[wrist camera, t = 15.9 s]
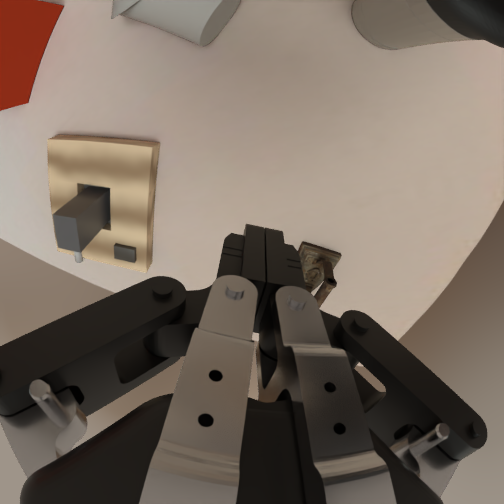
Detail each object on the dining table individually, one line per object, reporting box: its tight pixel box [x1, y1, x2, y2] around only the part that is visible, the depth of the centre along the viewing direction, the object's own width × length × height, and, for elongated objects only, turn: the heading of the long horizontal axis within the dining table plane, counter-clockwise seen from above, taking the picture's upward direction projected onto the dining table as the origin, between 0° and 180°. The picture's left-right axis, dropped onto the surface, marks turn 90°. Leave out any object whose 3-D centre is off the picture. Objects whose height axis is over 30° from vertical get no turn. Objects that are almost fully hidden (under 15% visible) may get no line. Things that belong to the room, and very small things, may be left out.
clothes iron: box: [298, 242, 341, 308], centre depth 43 cm, size 7×11×10 cm, turn 163°
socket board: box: [48, 135, 160, 273], centre depth 38 cm, size 20×18×4 cm
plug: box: [52, 186, 111, 263], centre depth 35 cm, size 8×4×10 cm, turn 169°
